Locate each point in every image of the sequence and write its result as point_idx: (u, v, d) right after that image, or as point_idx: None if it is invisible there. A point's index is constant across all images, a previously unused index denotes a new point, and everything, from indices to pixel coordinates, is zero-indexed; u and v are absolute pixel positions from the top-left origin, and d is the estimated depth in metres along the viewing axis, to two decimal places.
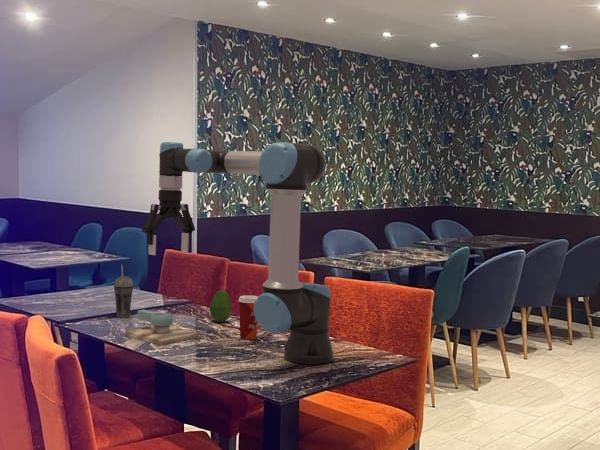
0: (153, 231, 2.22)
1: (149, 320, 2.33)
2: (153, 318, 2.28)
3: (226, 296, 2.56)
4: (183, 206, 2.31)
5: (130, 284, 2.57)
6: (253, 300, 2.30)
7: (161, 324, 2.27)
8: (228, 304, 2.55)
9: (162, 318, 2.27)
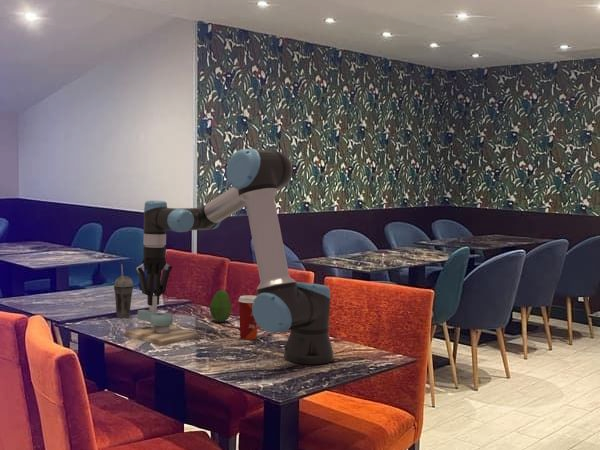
0: (151, 292, 2.34)
1: (149, 320, 2.33)
2: (153, 318, 2.28)
3: (226, 296, 2.56)
4: (167, 266, 2.38)
5: (130, 284, 2.57)
6: (253, 300, 2.30)
7: (161, 324, 2.27)
8: (228, 304, 2.55)
9: (162, 318, 2.27)
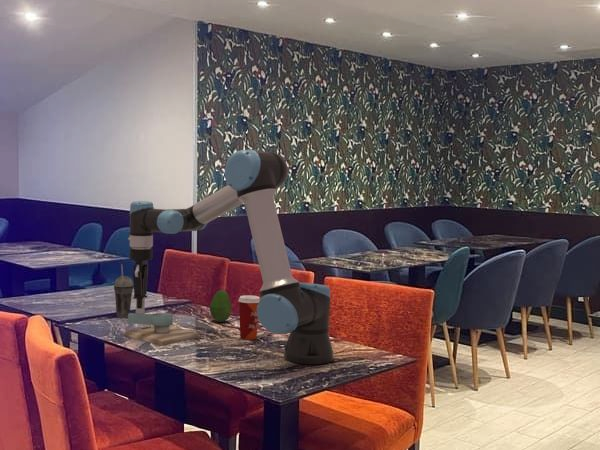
0: (143, 295, 2.30)
1: (146, 322, 2.29)
2: (159, 319, 2.27)
3: (226, 296, 2.56)
4: None
5: (130, 284, 2.57)
6: (253, 300, 2.30)
7: (168, 323, 2.29)
8: (228, 304, 2.55)
9: (169, 317, 2.29)
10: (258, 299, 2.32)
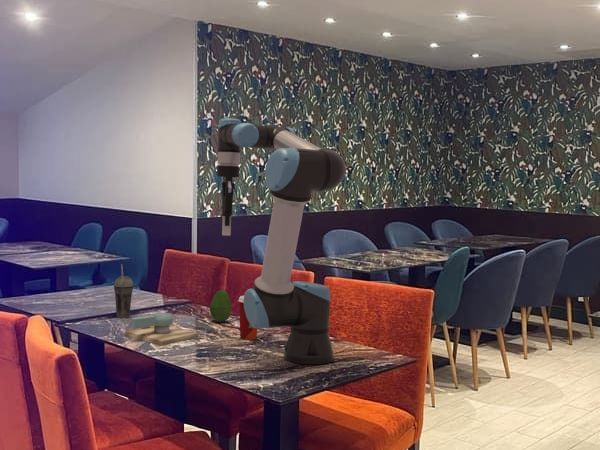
0: None
1: (151, 324, 2.27)
2: (167, 319, 2.28)
3: (226, 296, 2.56)
4: None
5: (130, 284, 2.57)
6: None
7: (172, 322, 2.31)
8: (228, 304, 2.55)
9: (172, 316, 2.31)
10: None
